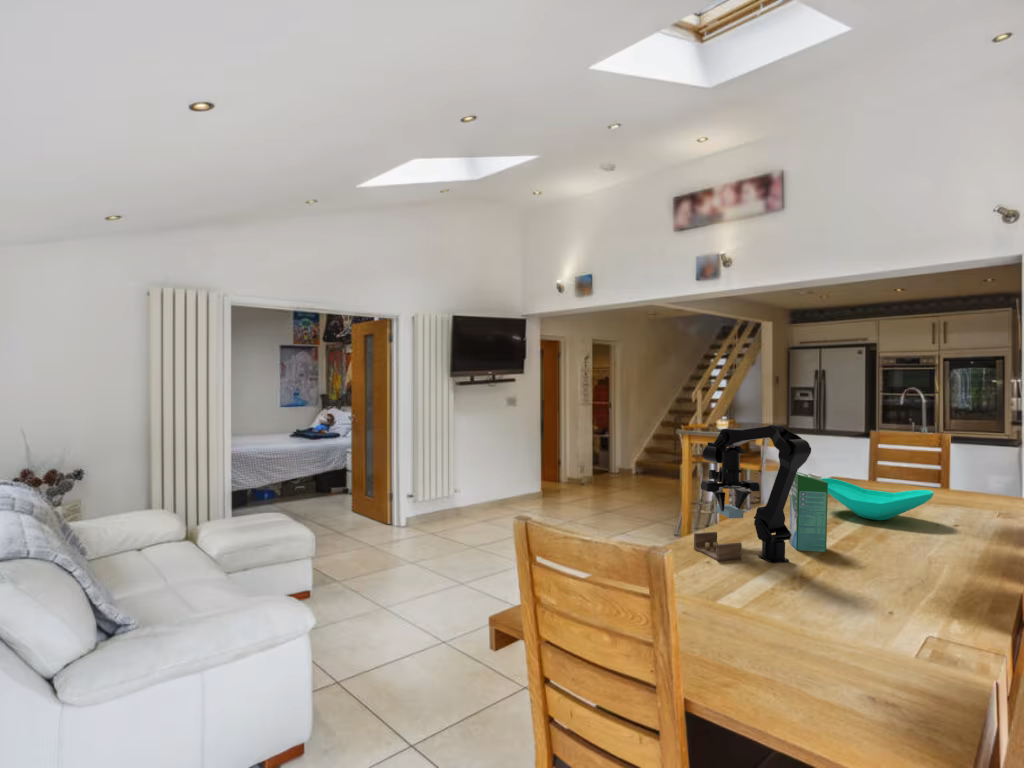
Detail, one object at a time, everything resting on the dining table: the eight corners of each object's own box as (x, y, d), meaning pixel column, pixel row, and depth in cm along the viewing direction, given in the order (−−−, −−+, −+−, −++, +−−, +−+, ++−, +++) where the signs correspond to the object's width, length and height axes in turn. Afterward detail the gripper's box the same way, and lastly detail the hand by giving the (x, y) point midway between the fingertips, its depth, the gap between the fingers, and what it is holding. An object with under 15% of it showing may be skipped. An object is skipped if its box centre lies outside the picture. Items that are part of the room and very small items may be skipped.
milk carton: (826, 552, 188) (828, 475, 188) (796, 550, 190) (798, 474, 190) (817, 544, 197) (819, 471, 197) (789, 542, 199) (790, 469, 198)
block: (716, 511, 201) (716, 504, 201) (730, 511, 202) (730, 504, 202) (729, 518, 192) (729, 511, 192) (743, 518, 193) (743, 510, 193)
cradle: (741, 559, 180) (741, 543, 180) (718, 561, 178) (719, 545, 178) (715, 546, 193) (715, 531, 193) (693, 548, 191) (694, 533, 191)
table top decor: (937, 520, 231) (938, 487, 231) (927, 534, 210) (928, 498, 210) (827, 504, 258) (828, 474, 257) (809, 515, 237) (810, 483, 237)
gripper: (744, 461, 206) (743, 505, 206) (694, 461, 204) (693, 506, 204) (761, 466, 195) (760, 512, 195) (708, 467, 192) (707, 513, 193)
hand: (729, 511), depth 197 cm, fingers closed on block, 5 cm apart
